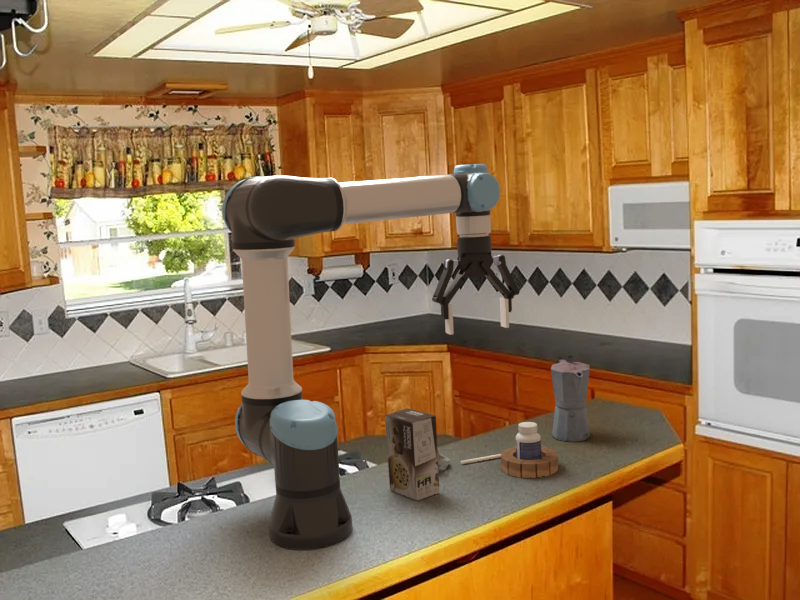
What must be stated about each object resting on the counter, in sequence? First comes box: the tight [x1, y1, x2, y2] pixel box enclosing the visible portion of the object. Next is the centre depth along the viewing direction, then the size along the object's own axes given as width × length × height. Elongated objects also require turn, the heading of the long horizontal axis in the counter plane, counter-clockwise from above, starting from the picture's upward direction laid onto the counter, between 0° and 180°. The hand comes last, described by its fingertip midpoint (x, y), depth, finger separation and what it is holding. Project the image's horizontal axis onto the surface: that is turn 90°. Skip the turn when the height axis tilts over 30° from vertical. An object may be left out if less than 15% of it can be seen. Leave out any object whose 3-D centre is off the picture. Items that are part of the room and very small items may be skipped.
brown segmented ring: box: [500, 445, 559, 479], centre depth 178 cm, size 12×12×3 cm
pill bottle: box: [515, 421, 542, 460], centre depth 178 cm, size 5×5×10 cm
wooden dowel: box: [460, 453, 501, 465], centre depth 186 cm, size 16×1×1 cm, turn 110°
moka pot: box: [550, 354, 591, 443], centre depth 197 cm, size 10×15×20 cm, turn 14°
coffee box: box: [384, 408, 440, 501], centre depth 168 cm, size 9×6×16 cm
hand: (477, 330), depth 185 cm, fingers open, 13 cm apart
